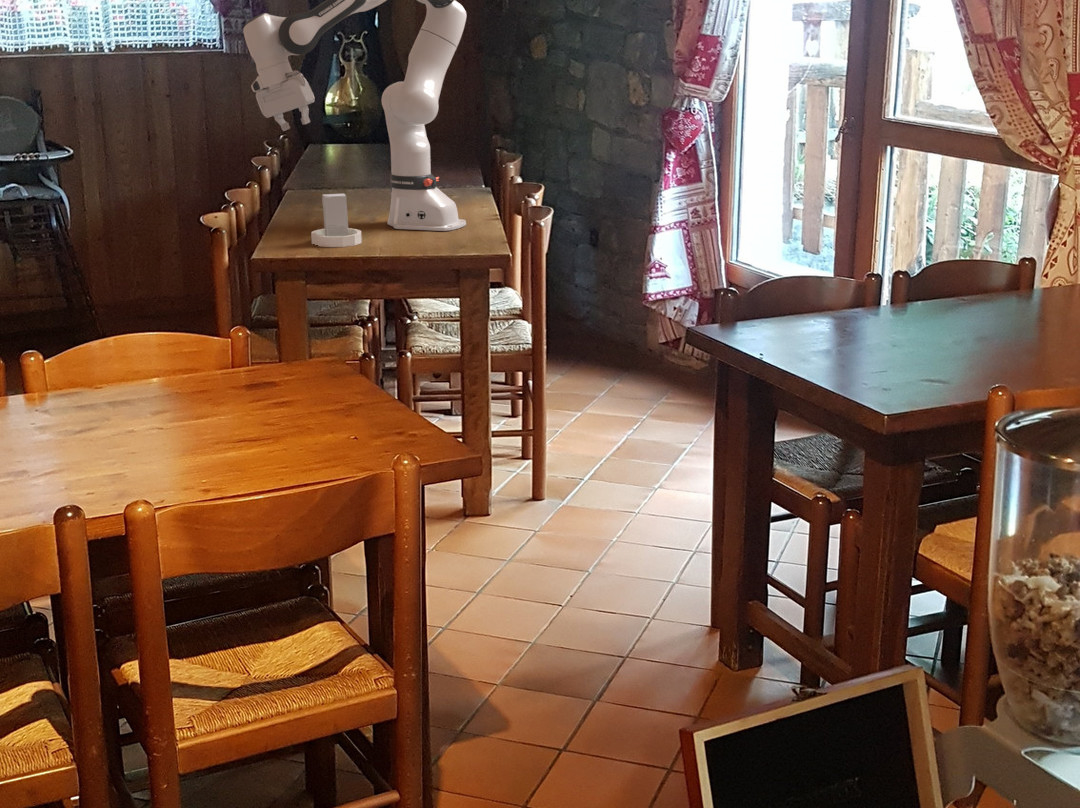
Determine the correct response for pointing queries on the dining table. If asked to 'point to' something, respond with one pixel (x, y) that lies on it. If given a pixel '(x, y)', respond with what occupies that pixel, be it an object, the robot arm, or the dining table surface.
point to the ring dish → (336, 238)
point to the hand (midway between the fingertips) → (296, 126)
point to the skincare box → (335, 215)
